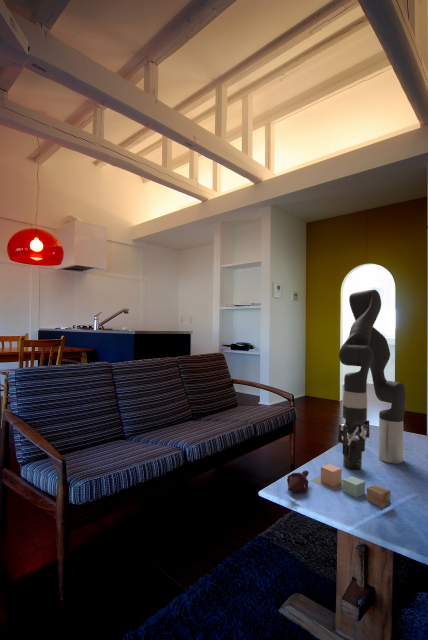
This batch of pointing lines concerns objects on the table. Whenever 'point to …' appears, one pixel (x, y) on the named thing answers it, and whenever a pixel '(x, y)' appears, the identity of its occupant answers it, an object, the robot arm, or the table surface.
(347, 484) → the teal brick
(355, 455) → the supplement bottle
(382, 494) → the walnut brick
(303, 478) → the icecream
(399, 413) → the robot arm
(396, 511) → the table surface
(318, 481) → the plate
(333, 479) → the base brick
